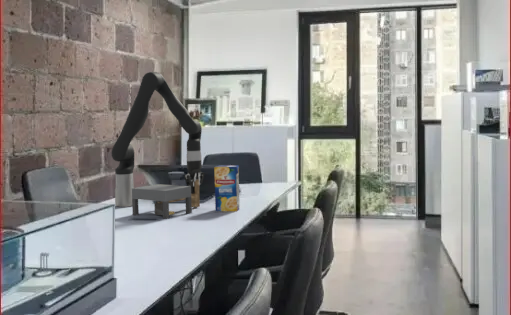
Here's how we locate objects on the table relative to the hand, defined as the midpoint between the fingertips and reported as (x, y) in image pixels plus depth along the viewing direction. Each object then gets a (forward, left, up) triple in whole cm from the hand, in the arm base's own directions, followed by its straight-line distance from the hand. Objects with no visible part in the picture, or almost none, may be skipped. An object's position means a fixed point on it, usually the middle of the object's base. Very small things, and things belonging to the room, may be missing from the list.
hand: (195, 192), depth 296 cm
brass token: (0, -21, -8) cm, 23 cm away
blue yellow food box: (+19, +2, -8) cm, 21 cm away
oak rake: (0, -13, -7) cm, 15 cm away
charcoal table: (-2, -22, -8) cm, 23 cm away
